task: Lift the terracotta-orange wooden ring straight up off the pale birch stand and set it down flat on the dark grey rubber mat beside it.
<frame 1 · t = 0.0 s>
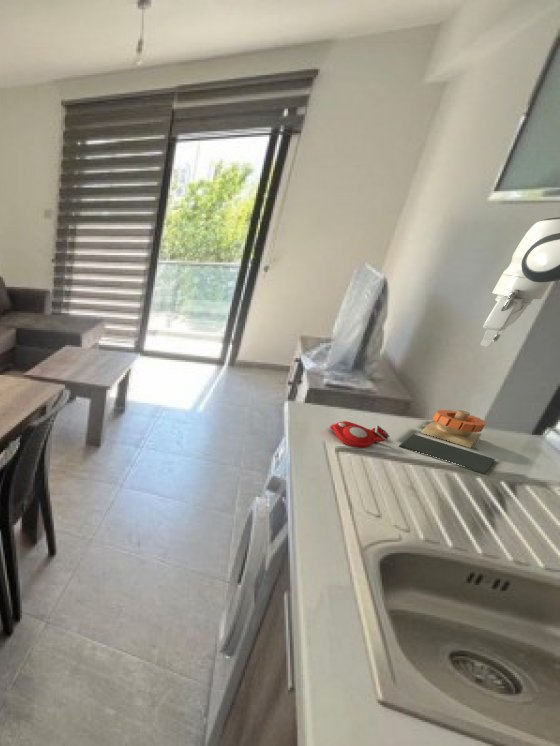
hand: (488, 343, 126), 23 cm above the table, tool pointing down, fingers open, 8 cm apart
ring: (456, 424, 127), point 3 cm above the table, touching stand
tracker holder: (357, 442, 123), on the table
mat: (445, 453, 119), on the table
stand: (449, 435, 129), on the table
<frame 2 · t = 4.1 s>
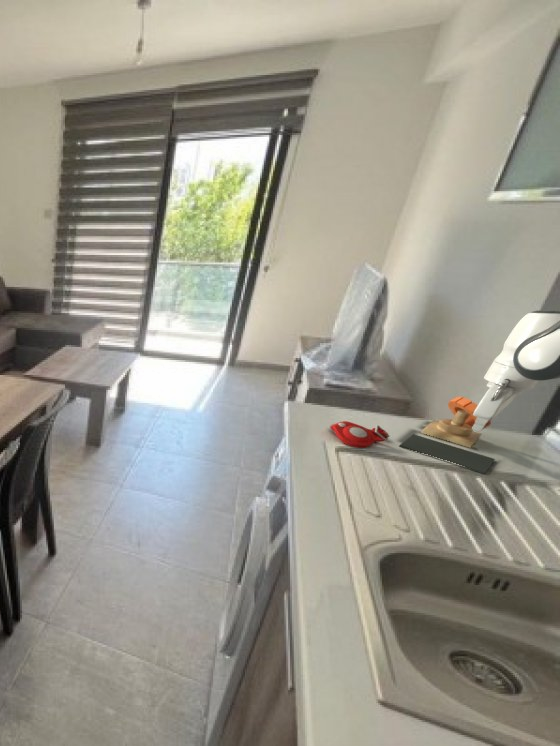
hand: (479, 426, 124), 4 cm above the table, tool pointing down, fingers closed on ring, 6 cm apart
ring: (464, 415, 126), point 6 cm above the table, tilted 44°, touching gripper, stand
everything else where it was.
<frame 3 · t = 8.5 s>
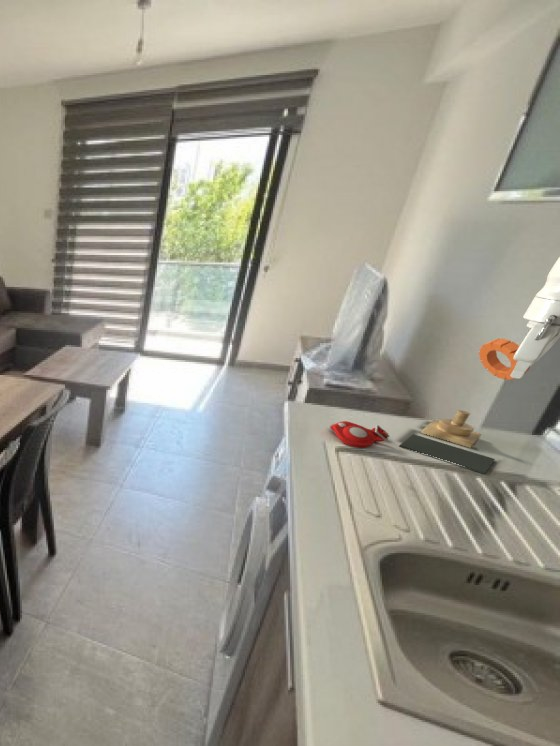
hand: (517, 375, 109), 21 cm above the table, tool pointing down, fingers closed on ring, 5 cm apart
ring: (498, 361, 111), point 23 cm above the table, tilted 56°, touching gripper
everything else where it was.
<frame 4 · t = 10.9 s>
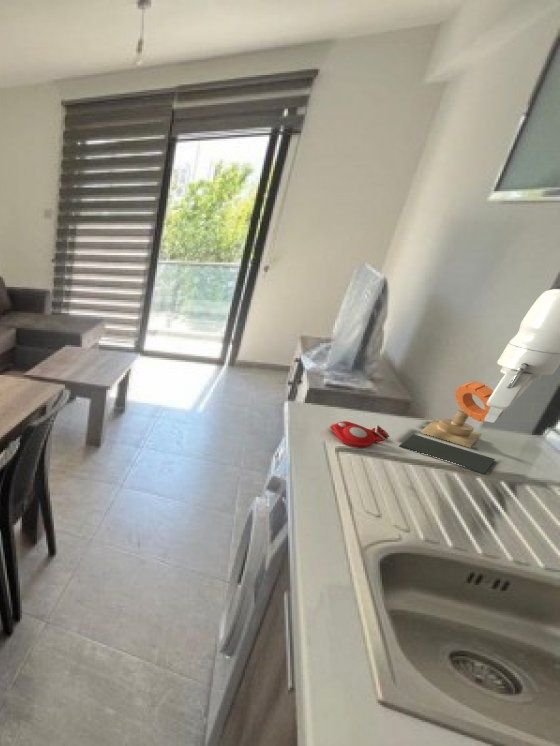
hand: (491, 418, 111), 11 cm above the table, tool pointing down, fingers closed on ring, 5 cm apart
ring: (473, 403, 113), point 13 cm above the table, tilted 57°, touching gripper
everything else where it was.
when the fingers open (2 cm above the table, at t = 13.2 s): ring drops 3 cm, point 1 cm above the table.
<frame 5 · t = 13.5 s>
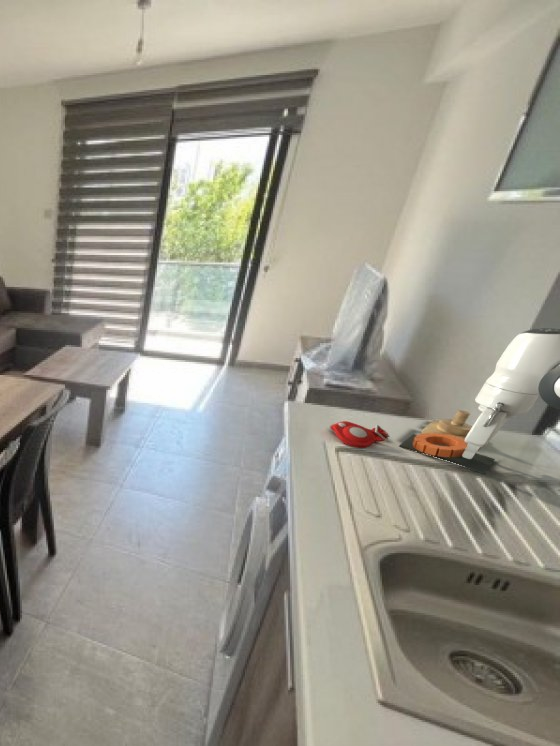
hand: (471, 452, 115), 2 cm above the table, tool pointing down, fingers open, 8 cm apart
ring: (439, 448, 118), point 1 cm above the table, tilted 11°, touching gripper
everything else where it was.
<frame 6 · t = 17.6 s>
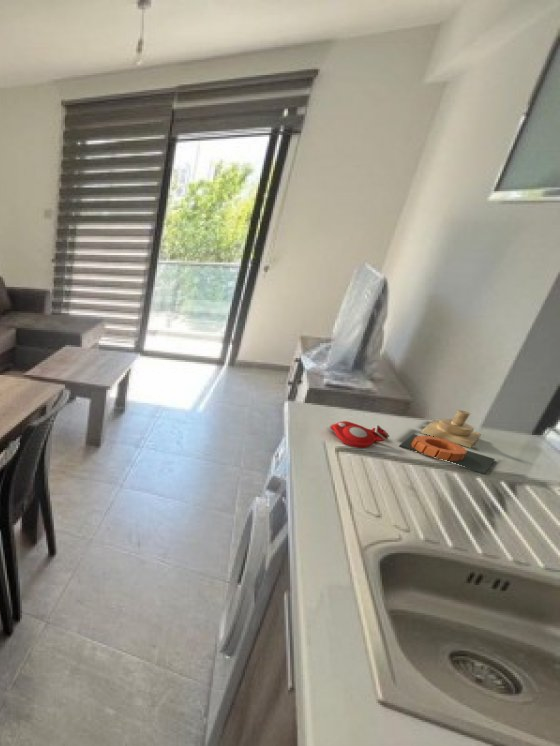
ring: (436, 451, 119), resting on mat
everything else where it was.
at the end: ring inside the target area (2.6 cm from its centre), resting on mat; ring tilted 0°; the gripper is holding nothing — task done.
